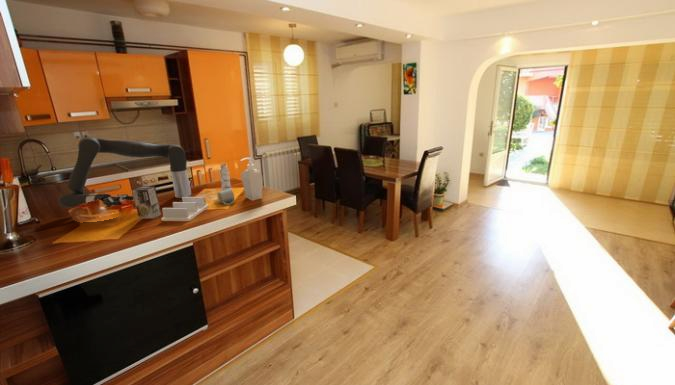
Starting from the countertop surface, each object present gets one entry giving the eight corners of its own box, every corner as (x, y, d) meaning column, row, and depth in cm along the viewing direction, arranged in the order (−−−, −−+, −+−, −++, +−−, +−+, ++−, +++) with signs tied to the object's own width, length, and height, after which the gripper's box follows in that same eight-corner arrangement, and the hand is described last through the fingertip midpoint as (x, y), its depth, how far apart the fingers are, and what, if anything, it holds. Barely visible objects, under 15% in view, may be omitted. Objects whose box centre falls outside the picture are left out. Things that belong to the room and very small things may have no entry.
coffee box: (161, 214, 170) (156, 186, 165) (154, 218, 164) (147, 189, 159) (146, 214, 171) (140, 186, 166) (138, 218, 165) (131, 189, 160)
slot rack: (184, 207, 181) (182, 196, 179) (208, 207, 180) (206, 196, 178) (161, 220, 161) (159, 209, 159) (189, 221, 160) (187, 209, 158)
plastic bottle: (222, 196, 199) (218, 166, 193) (221, 193, 205) (217, 164, 199) (233, 194, 202) (229, 164, 196) (231, 192, 208) (227, 163, 202)
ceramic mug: (217, 202, 188) (216, 190, 186) (231, 199, 193) (229, 187, 190) (223, 206, 180) (221, 194, 178) (237, 203, 185) (235, 191, 182)
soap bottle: (240, 197, 195) (236, 157, 188) (255, 194, 202) (251, 155, 194) (249, 202, 186) (245, 160, 179) (264, 198, 193) (260, 157, 185)
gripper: (86, 197, 159) (115, 198, 158) (107, 189, 172) (135, 190, 171) (89, 211, 161) (118, 211, 160) (111, 202, 175) (138, 202, 173)
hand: (127, 200), depth 166 cm, fingers open, 8 cm apart
